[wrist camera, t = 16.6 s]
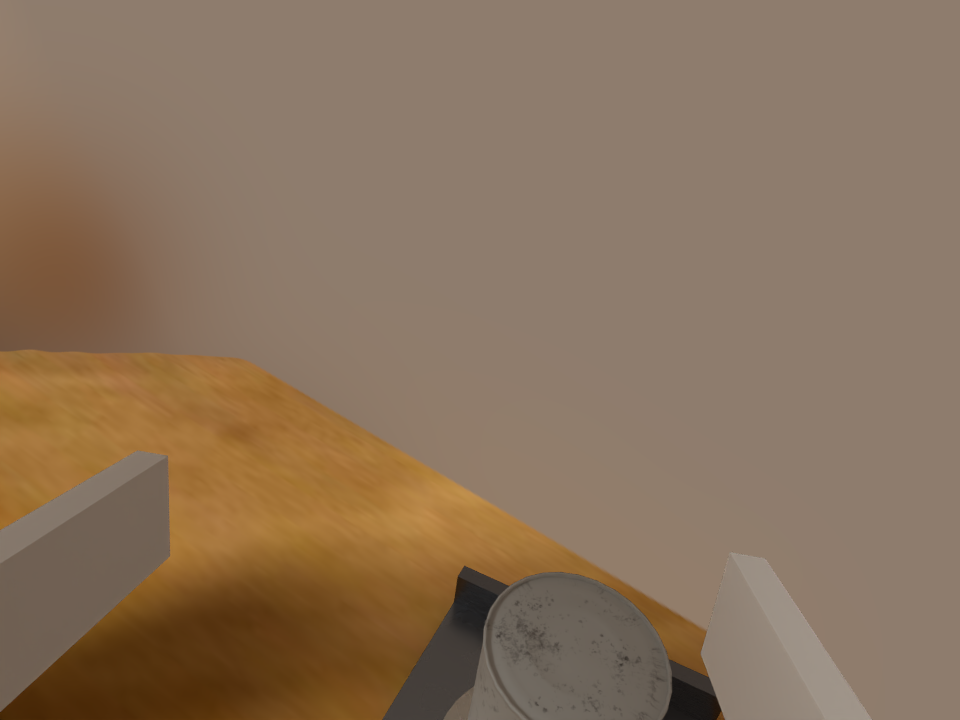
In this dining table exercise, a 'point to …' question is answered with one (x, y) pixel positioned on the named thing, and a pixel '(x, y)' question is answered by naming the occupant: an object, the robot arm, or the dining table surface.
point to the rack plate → (456, 653)
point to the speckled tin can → (569, 655)
